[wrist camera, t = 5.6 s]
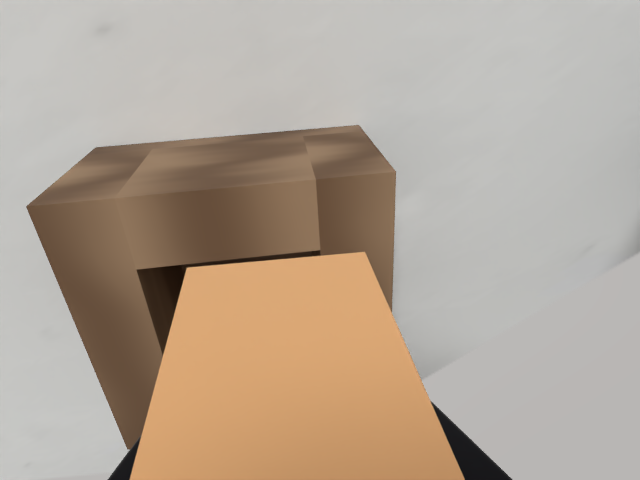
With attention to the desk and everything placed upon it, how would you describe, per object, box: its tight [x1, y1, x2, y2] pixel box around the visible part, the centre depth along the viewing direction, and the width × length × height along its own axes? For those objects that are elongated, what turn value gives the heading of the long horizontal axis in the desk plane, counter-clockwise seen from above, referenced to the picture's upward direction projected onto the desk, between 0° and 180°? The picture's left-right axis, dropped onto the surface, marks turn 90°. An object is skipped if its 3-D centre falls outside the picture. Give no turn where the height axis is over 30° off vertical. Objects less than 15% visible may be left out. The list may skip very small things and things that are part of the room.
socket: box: [26, 125, 396, 449], centre depth 18 cm, size 11×11×6 cm
